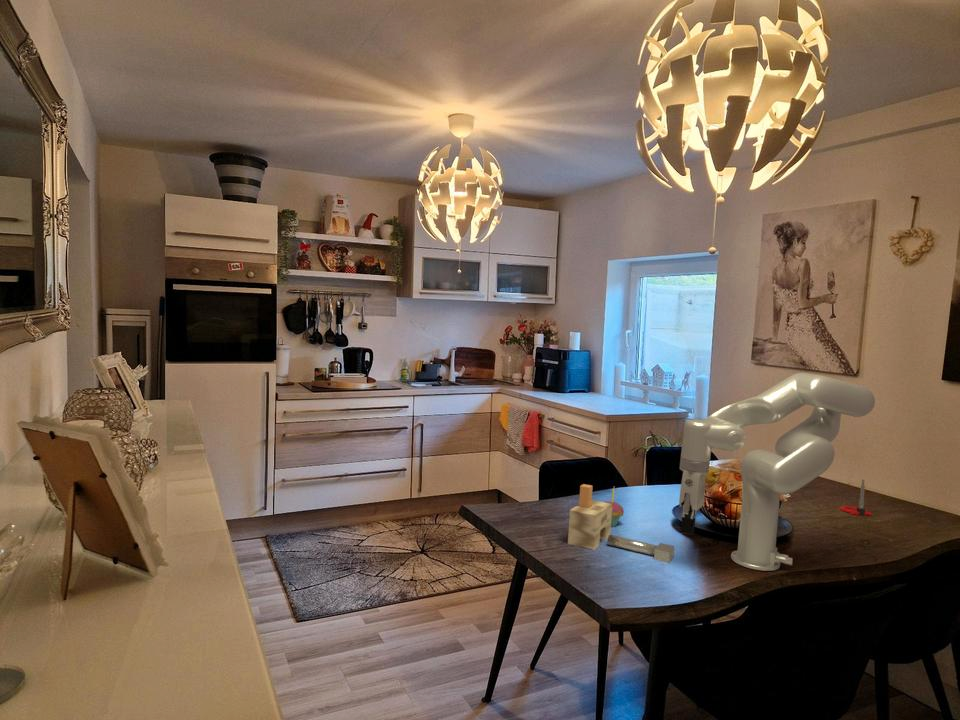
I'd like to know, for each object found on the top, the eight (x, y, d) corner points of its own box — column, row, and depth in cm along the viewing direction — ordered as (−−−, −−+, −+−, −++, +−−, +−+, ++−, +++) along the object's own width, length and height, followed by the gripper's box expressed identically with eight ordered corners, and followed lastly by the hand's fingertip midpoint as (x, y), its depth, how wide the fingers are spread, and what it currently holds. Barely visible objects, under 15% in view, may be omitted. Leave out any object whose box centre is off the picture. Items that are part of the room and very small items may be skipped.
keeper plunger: (591, 508, 188) (592, 485, 187) (587, 511, 185) (589, 487, 185) (582, 506, 189) (583, 484, 188) (578, 509, 187) (580, 486, 186)
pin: (673, 556, 177) (674, 546, 177) (668, 563, 172) (669, 552, 172) (612, 541, 186) (612, 532, 186) (605, 547, 181) (606, 537, 181)
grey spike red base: (835, 508, 234) (850, 515, 225) (837, 474, 234) (853, 479, 225) (857, 509, 235) (873, 516, 225) (859, 475, 234) (876, 480, 225)
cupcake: (601, 517, 208) (603, 482, 207) (626, 523, 204) (629, 487, 203) (592, 524, 201) (594, 487, 200) (618, 530, 196) (620, 492, 195)
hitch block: (610, 536, 191) (612, 504, 190) (593, 550, 179) (596, 515, 178) (585, 530, 195) (587, 498, 194) (567, 543, 183) (569, 510, 182)
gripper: (703, 473, 162) (695, 542, 163) (714, 463, 175) (706, 528, 176) (673, 467, 166) (666, 535, 167) (686, 458, 179) (679, 521, 180)
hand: (687, 531), depth 172 cm, fingers closed
